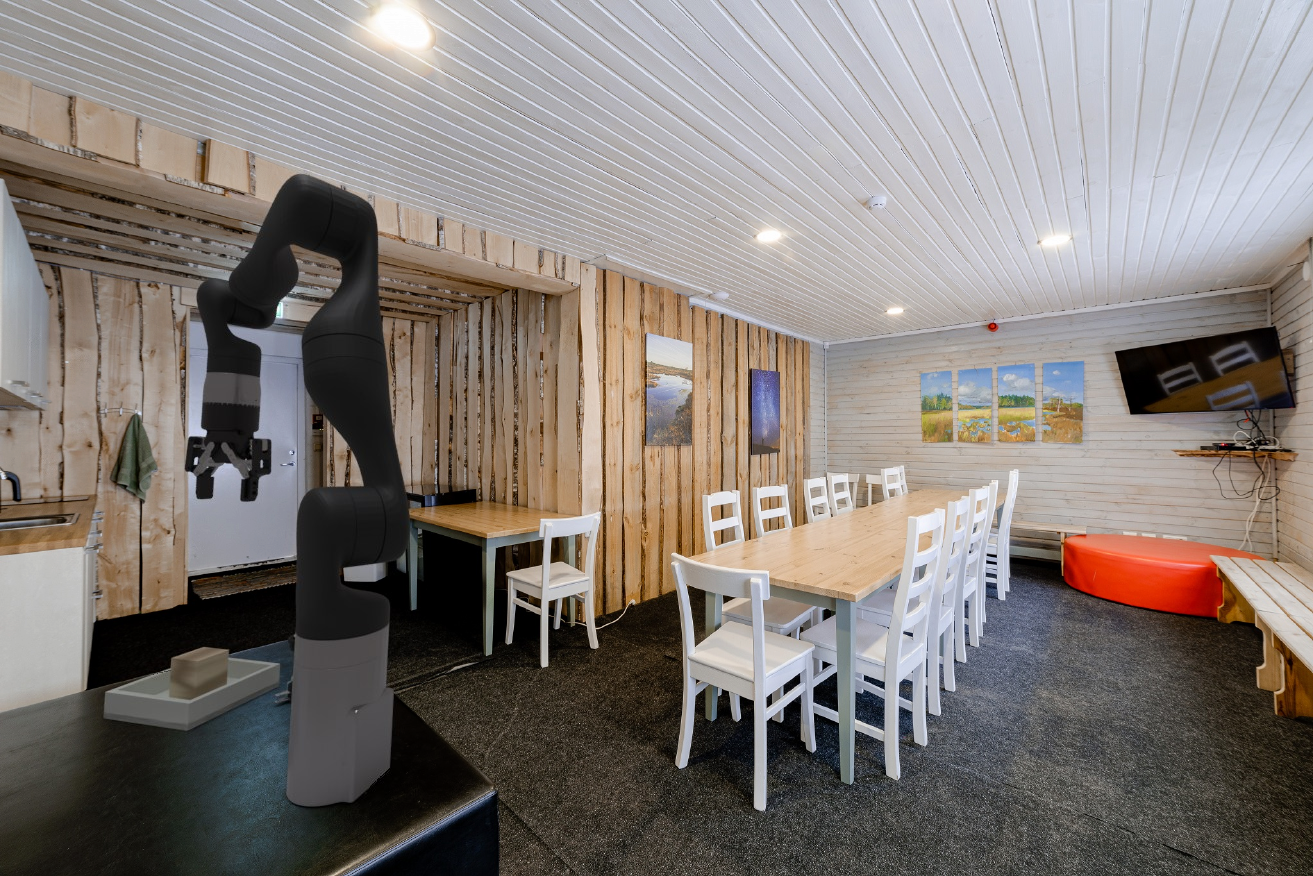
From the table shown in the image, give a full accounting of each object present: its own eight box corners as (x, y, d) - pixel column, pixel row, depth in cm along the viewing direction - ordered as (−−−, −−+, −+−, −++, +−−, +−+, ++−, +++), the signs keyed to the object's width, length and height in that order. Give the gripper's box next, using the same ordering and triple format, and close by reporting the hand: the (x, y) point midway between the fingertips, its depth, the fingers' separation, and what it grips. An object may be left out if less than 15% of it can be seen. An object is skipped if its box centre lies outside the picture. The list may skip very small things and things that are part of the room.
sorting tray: (278, 686, 82) (280, 663, 82) (187, 730, 69) (189, 703, 69) (205, 677, 84) (207, 654, 84) (103, 718, 71) (105, 691, 71)
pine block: (226, 690, 78) (228, 649, 78) (195, 704, 74) (197, 661, 74) (201, 687, 79) (203, 647, 79) (168, 701, 75) (171, 658, 75)
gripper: (288, 405, 90) (282, 500, 89) (218, 404, 92) (212, 496, 92) (247, 401, 83) (241, 504, 82) (172, 399, 85) (165, 499, 84)
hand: (226, 500), depth 87 cm, fingers open, 8 cm apart
